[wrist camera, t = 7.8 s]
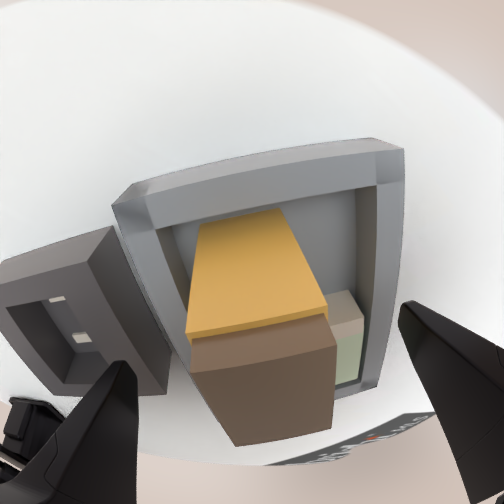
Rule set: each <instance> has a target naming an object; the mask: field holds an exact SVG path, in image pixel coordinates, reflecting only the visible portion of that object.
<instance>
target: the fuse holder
mask: <svg viewBox="0 0 504 504" xmlns="http://www.w3.org/2000/svg"><path fill="white" fill-rule="evenodd" d="M0 331H1V333H2V334H3V336H4V337H5V338H6V340H7V341H8V342H9V344H10V345H11V346H12V348H13V349H14V350H15V352H16V353H17V354H18V355H19V357H20V358H21V359H22V360H23V362H24V363H25V364H26V365H27V366H28V368H29V369H30V370H31V371H32V372H33V373H34V375H35V376H36V377H37V378H38V379H39V380H40V381H41V382H42V383H43V385H44V386H45V387H46V388H47V389H48V390H49V391H50V392H51V393H52V394H53V395H57V396H77V397H84V396H85V395H86V393H87V392H88V391H89V390H90V388H91V387H92V386H93V385H94V384H95V382H96V381H97V380H98V379H99V378H100V376H101V375H102V374H103V373H104V372H105V371H106V369H107V368H108V367H109V366H110V365H111V363H112V362H113V361H116V360H125V361H127V362H128V364H129V365H130V367H131V368H132V369H133V371H134V372H135V374H136V375H137V378H138V396H152V395H166V393H167V384H168V376H169V368H170V360H171V350H170V348H169V346H168V344H167V343H166V341H165V339H164V337H163V335H162V333H161V331H160V329H159V328H158V326H157V324H156V322H155V320H154V318H153V316H152V314H151V312H150V310H149V308H148V306H147V304H146V302H145V299H144V297H143V295H142V293H141V291H140V289H139V287H138V285H137V282H136V280H135V278H134V276H133V274H132V271H131V269H130V267H129V264H128V262H127V260H126V257H125V255H124V253H123V250H122V248H121V245H120V243H119V241H118V238H117V236H116V233H115V230H114V228H113V226H109V227H106V228H102V229H99V230H95V231H92V232H89V233H85V234H82V235H79V236H76V237H72V238H69V239H66V240H63V241H60V242H56V243H53V244H50V245H47V246H44V247H41V248H38V249H35V250H32V251H29V252H27V253H24V254H21V255H18V256H15V257H12V258H10V259H7V260H4V261H3V262H2V263H1V264H0Z"/></svg>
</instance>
